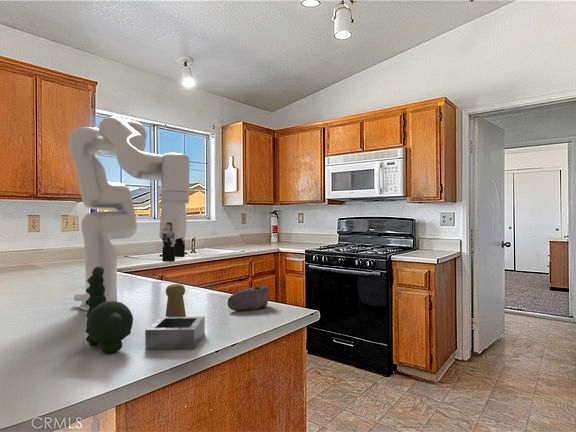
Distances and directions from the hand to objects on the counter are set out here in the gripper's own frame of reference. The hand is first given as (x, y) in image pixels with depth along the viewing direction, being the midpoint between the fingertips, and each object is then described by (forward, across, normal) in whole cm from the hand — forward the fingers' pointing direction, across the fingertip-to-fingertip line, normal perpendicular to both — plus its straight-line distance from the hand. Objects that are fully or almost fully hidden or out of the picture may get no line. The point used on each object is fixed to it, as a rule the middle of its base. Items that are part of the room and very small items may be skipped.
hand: (174, 259), depth 107 cm
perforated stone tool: (+18, -15, +20) cm, 31 cm away
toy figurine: (+18, +18, -11) cm, 28 cm away
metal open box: (+18, +16, +6) cm, 24 cm away
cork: (+18, +1, +1) cm, 18 cm away
